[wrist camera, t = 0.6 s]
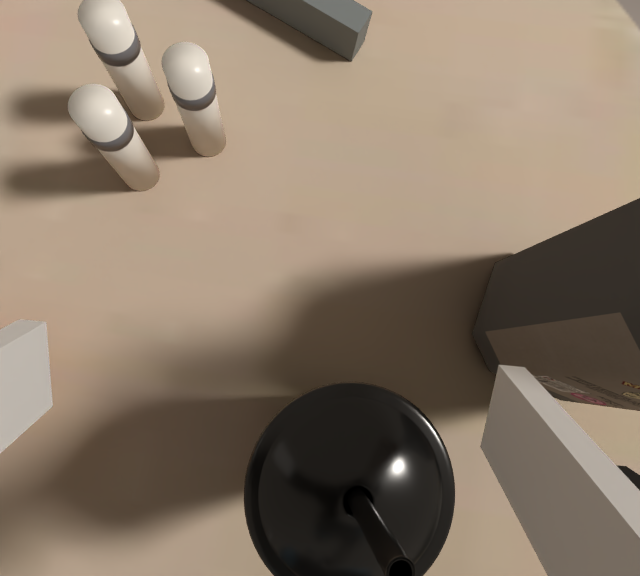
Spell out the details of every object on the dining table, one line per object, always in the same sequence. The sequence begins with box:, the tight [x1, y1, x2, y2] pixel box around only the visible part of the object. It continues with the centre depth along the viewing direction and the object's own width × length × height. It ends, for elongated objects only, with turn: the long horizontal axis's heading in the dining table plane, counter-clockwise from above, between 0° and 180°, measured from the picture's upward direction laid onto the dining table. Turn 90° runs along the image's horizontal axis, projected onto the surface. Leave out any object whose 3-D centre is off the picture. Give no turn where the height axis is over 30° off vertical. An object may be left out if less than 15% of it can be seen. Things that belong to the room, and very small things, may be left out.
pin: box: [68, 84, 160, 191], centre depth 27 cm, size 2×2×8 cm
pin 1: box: [78, 0, 164, 121], centre depth 28 cm, size 2×2×8 cm
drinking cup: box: [244, 382, 455, 576], centre depth 20 cm, size 8×8×20 cm
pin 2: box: [162, 42, 226, 157], centre depth 28 cm, size 2×2×8 cm
